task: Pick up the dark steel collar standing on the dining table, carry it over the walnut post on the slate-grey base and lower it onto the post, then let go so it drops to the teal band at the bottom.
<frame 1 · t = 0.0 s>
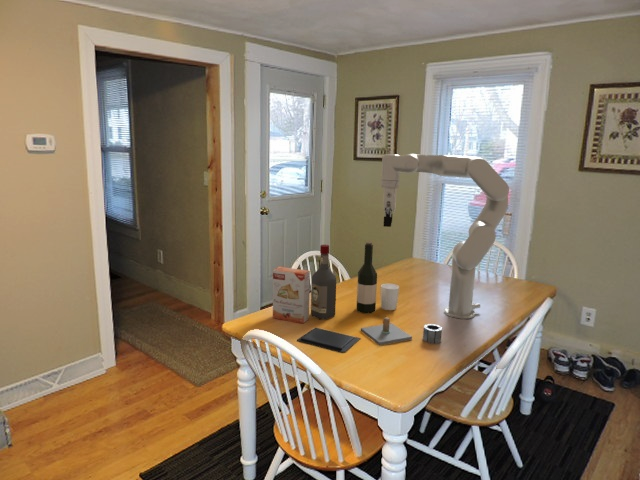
hand: (387, 224, 202), 37 cm above the table, tool pointing down, fingers open, 9 cm apart
post base: (385, 335, 180), on the table
liquor: (322, 315, 199), on the table
wine bottle: (365, 310, 206), on the table
white cup: (388, 308, 209), on the table
wallet: (328, 341, 175), on the table
cracker box: (290, 319, 194), on the table
collar: (432, 339, 177), on the table
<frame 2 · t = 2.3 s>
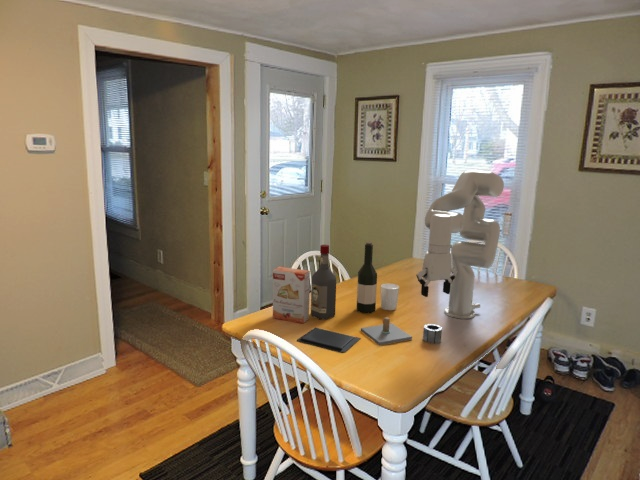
hand: (435, 294, 173), 18 cm above the table, tool pointing down, fingers open, 9 cm apart
nothing on the table moved.
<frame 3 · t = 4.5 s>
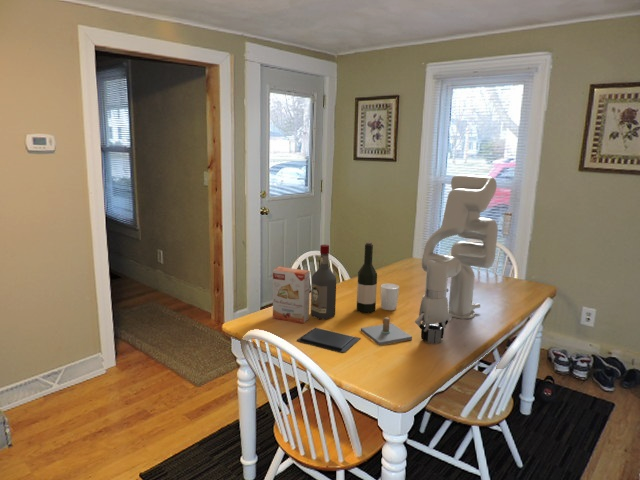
hand: (432, 338, 177), 1 cm above the table, tool pointing down, fingers closed on collar, 6 cm apart
collar: (431, 339, 177), on the table, touching gripper
everything else where it was.
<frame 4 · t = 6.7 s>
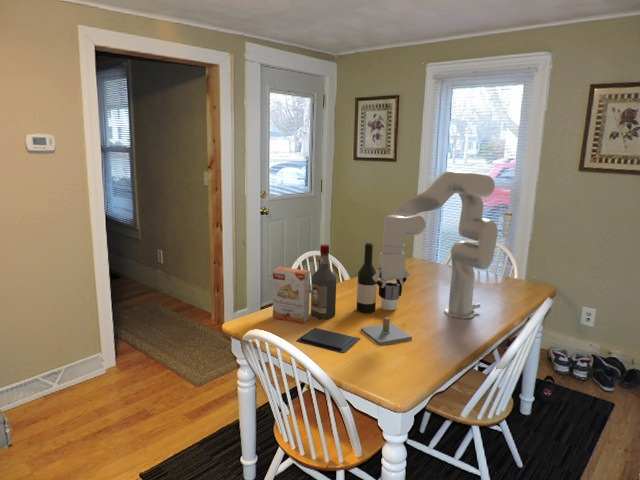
hand: (390, 295, 176), 16 cm above the table, tool pointing down, fingers closed on collar, 6 cm apart
collar: (390, 297, 177), point 15 cm above the table, touching gripper
everything else where it was.
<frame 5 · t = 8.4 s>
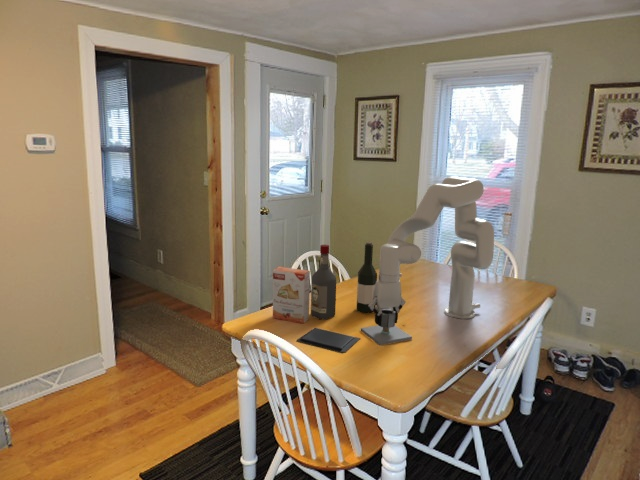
hand: (386, 322, 179), 5 cm above the table, tool pointing down, fingers closed on collar, 6 cm apart
collar: (386, 324, 179), point 4 cm above the table, touching gripper
everything else where it was.
when the fingers open (4 cm above the table, at t = 9.4 s): collar drops 2 cm, resting on post base.
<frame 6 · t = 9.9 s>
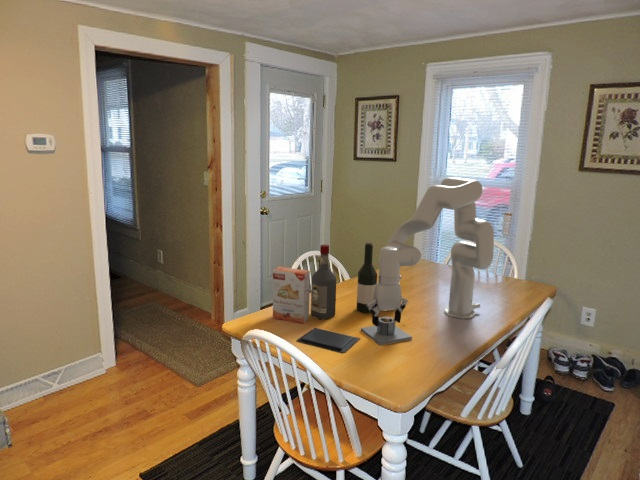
hand: (386, 323, 179), 5 cm above the table, tool pointing down, fingers open, 9 cm apart
collar: (385, 332, 180), point 1 cm above the table, touching post base
everything else where it was.
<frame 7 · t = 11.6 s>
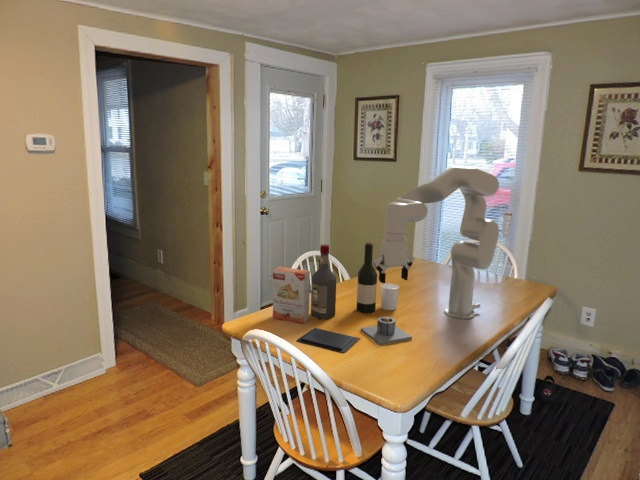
hand: (393, 280, 177), 21 cm above the table, tool pointing down, fingers open, 9 cm apart
nothing on the table moved.
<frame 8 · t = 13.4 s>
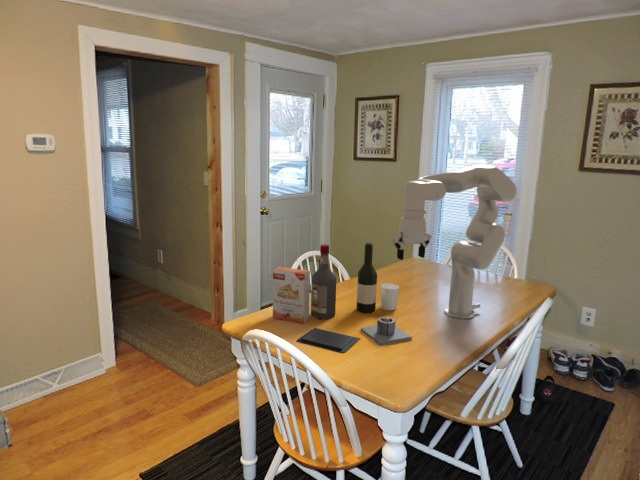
hand: (410, 258, 182), 28 cm above the table, tool pointing down, fingers open, 9 cm apart
nothing on the table moved.
at the end: collar 0.1 cm off-centre on the post base, point 1.2 cm above the post base's base; collar tilted 0°; the gripper is holding nothing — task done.
